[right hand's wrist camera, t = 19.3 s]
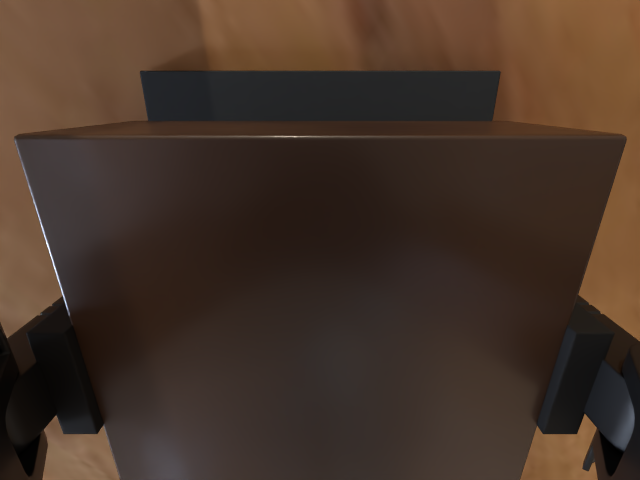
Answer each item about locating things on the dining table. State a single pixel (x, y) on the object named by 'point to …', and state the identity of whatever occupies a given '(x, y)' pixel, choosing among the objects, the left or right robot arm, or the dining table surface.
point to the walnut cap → (320, 288)
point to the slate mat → (320, 95)
